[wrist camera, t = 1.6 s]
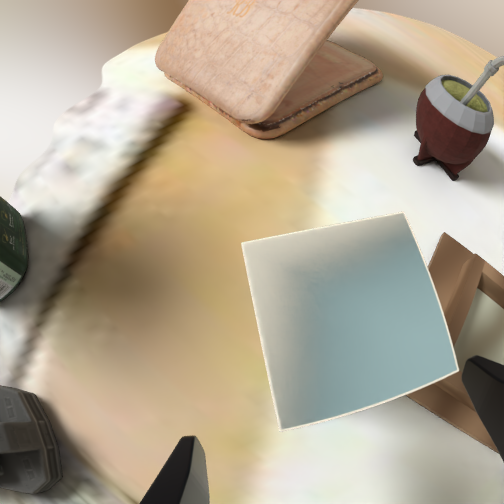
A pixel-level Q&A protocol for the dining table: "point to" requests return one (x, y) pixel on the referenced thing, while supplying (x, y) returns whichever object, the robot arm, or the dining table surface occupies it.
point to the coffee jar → (11, 249)
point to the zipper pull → (26, 444)
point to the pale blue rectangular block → (346, 318)
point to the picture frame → (465, 330)
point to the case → (264, 60)
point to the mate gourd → (454, 120)
